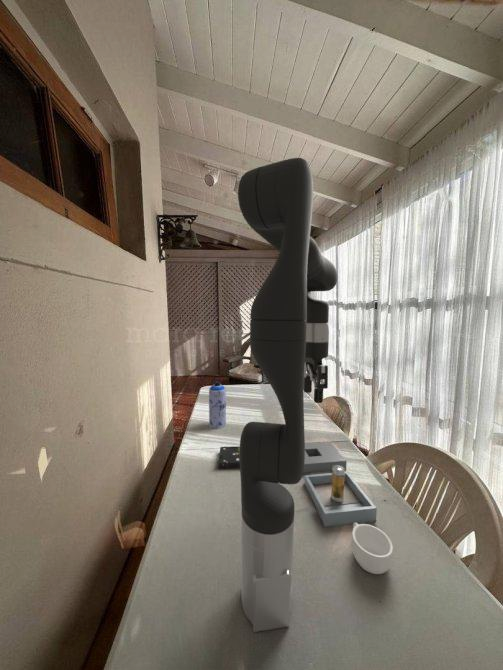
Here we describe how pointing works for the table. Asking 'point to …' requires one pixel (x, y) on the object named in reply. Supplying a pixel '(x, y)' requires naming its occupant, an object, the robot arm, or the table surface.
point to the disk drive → (229, 458)
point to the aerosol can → (217, 406)
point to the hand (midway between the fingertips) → (312, 397)
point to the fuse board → (322, 457)
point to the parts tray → (342, 512)
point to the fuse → (337, 483)
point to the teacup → (371, 548)
